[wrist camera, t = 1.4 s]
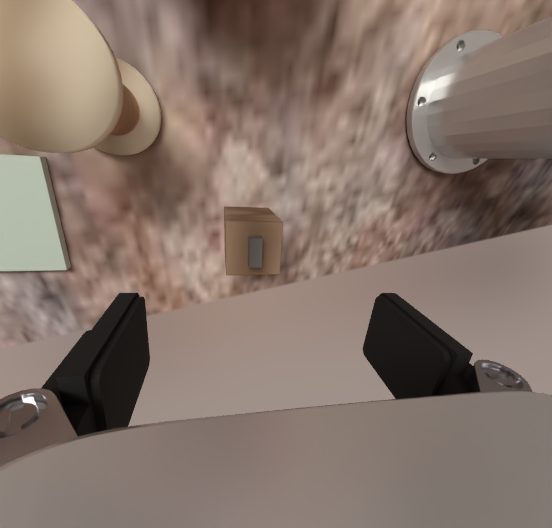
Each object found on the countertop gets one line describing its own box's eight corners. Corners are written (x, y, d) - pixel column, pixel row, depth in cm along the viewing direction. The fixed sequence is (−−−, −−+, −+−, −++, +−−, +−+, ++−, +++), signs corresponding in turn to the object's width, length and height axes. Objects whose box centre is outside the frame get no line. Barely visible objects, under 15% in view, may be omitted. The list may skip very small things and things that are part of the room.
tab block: (268, 207, 28) (285, 225, 20) (266, 249, 29) (281, 278, 22) (224, 206, 27) (226, 224, 19) (224, 249, 28) (226, 280, 21)
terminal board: (45, 156, 22) (39, 156, 22) (71, 266, 26) (66, 270, 25) (-73, 149, 21) (-84, 149, 20) (-29, 268, 24) (-36, 271, 24)
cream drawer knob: (157, 65, 22) (103, -16, 12) (164, 157, 24) (126, 157, 14) (58, 52, 20) (-100, -52, 10) (77, 152, 23) (-35, 147, 13)
